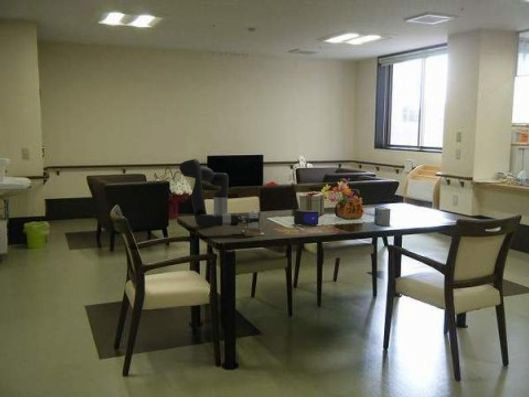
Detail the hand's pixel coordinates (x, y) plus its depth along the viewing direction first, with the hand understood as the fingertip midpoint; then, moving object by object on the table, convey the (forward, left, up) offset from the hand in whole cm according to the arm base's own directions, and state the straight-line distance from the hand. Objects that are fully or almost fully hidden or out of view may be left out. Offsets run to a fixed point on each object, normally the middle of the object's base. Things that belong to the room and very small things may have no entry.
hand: (257, 219), depth 318 cm
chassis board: (0, -3, -9) cm, 9 cm away
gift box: (-64, +53, -9) cm, 84 cm away
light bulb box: (-20, +90, -9) cm, 93 cm away
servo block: (0, -3, -6) cm, 7 cm away
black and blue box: (-25, +38, -9) cm, 47 cm away
